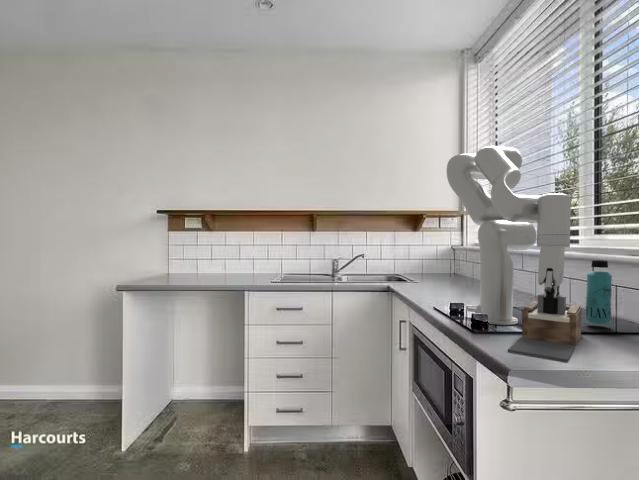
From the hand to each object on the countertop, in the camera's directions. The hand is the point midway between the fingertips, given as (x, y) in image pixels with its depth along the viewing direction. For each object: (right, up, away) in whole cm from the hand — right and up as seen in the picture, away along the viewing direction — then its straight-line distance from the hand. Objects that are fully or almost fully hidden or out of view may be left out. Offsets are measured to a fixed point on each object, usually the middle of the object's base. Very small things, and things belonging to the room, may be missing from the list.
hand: (551, 311), depth 108 cm
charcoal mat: (-8, -7, -10) cm, 15 cm away
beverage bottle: (+23, -8, +16) cm, 29 cm away
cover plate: (0, -1, 0) cm, 1 cm away
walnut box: (+2, -7, +3) cm, 8 cm away
